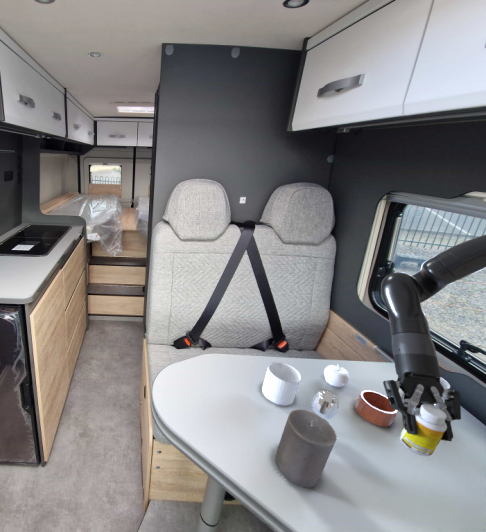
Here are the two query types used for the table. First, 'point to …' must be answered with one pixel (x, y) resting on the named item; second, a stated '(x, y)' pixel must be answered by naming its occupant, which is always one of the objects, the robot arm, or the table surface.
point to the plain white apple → (336, 375)
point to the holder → (372, 414)
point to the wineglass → (325, 404)
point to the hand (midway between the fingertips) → (429, 437)
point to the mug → (281, 383)
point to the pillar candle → (304, 448)
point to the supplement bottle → (425, 430)
